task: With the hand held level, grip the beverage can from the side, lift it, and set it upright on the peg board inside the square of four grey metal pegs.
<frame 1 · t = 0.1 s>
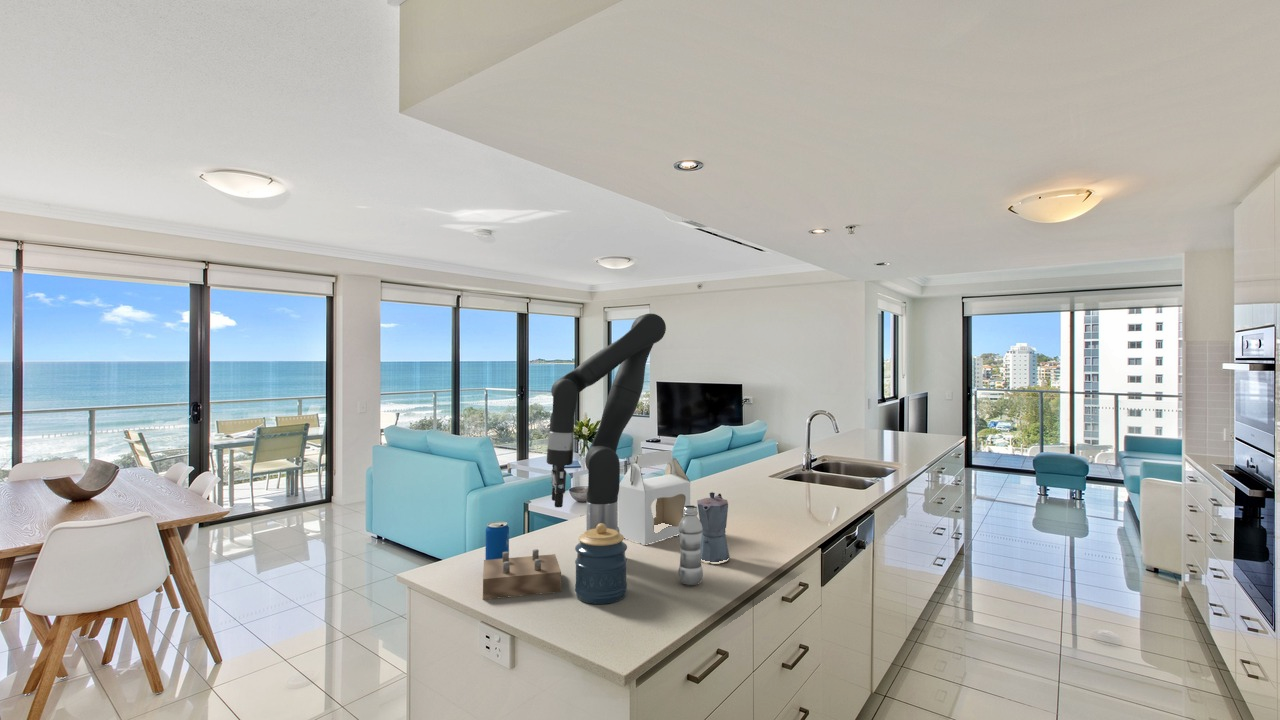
hand: (556, 503, 162), 17 cm above the worktop, tool pointing down, fingers open, 8 cm apart
canister: (601, 595, 140), on the worktop
gable box: (654, 535, 190), on the worktop
moka pot: (713, 559, 165), on the worktop
plastic bottle: (690, 584, 147), on the worktop
peg board: (521, 585, 145), on the worktop
beverage can: (497, 567, 159), on the worktop
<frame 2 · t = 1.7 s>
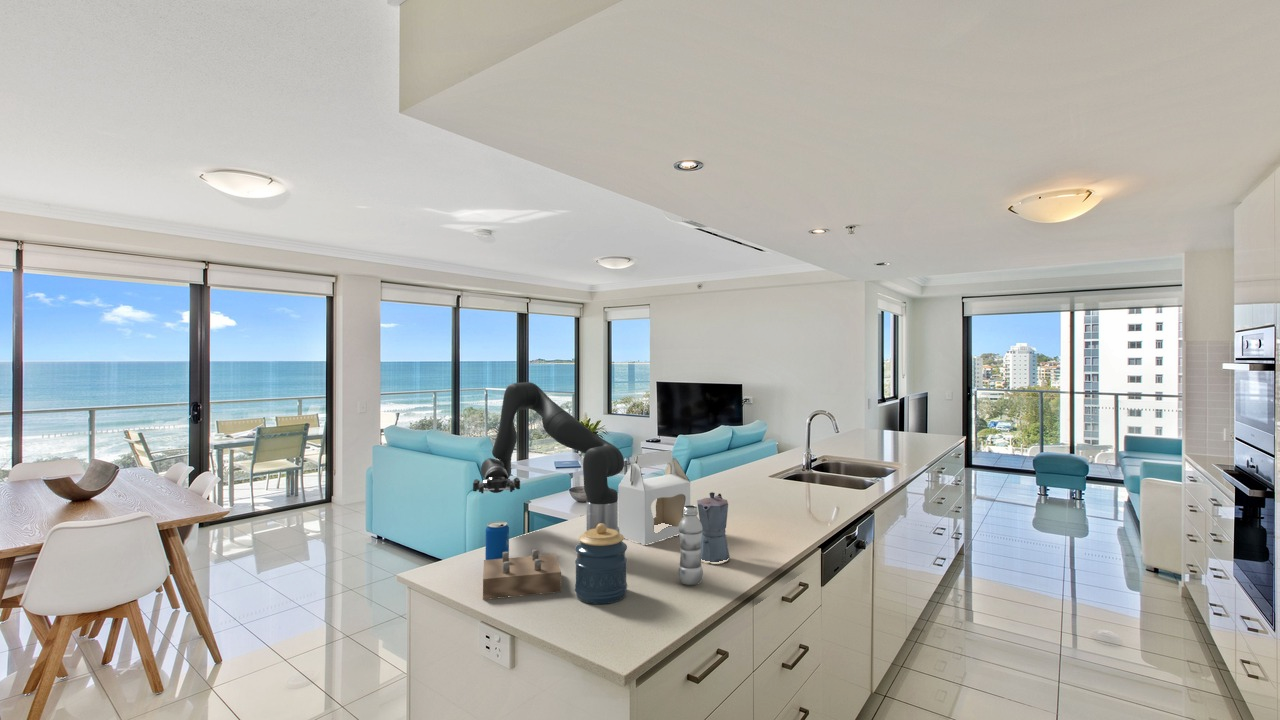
hand: (497, 489, 169), 20 cm above the worktop, tool horizontal, fingers open, 8 cm apart
nothing on the worktop moved.
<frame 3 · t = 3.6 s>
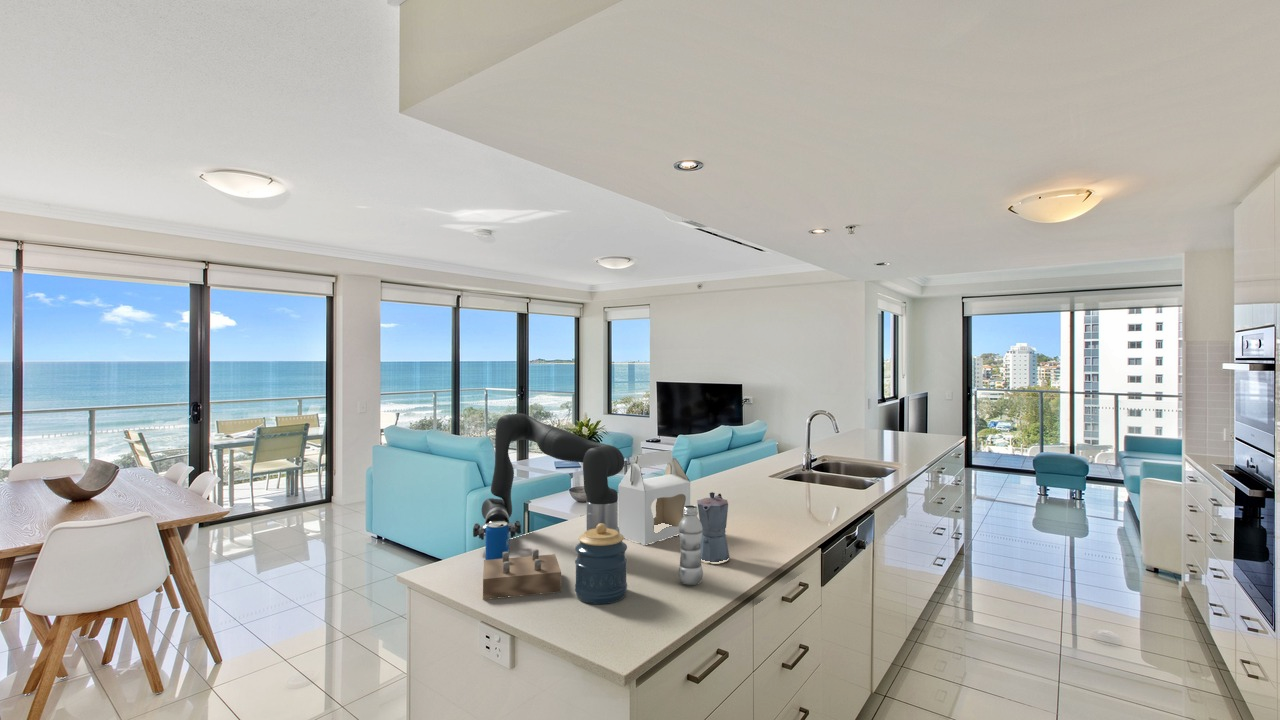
hand: (497, 535, 167), 7 cm above the worktop, tool horizontal, fingers open, 8 cm apart
nothing on the worktop moved.
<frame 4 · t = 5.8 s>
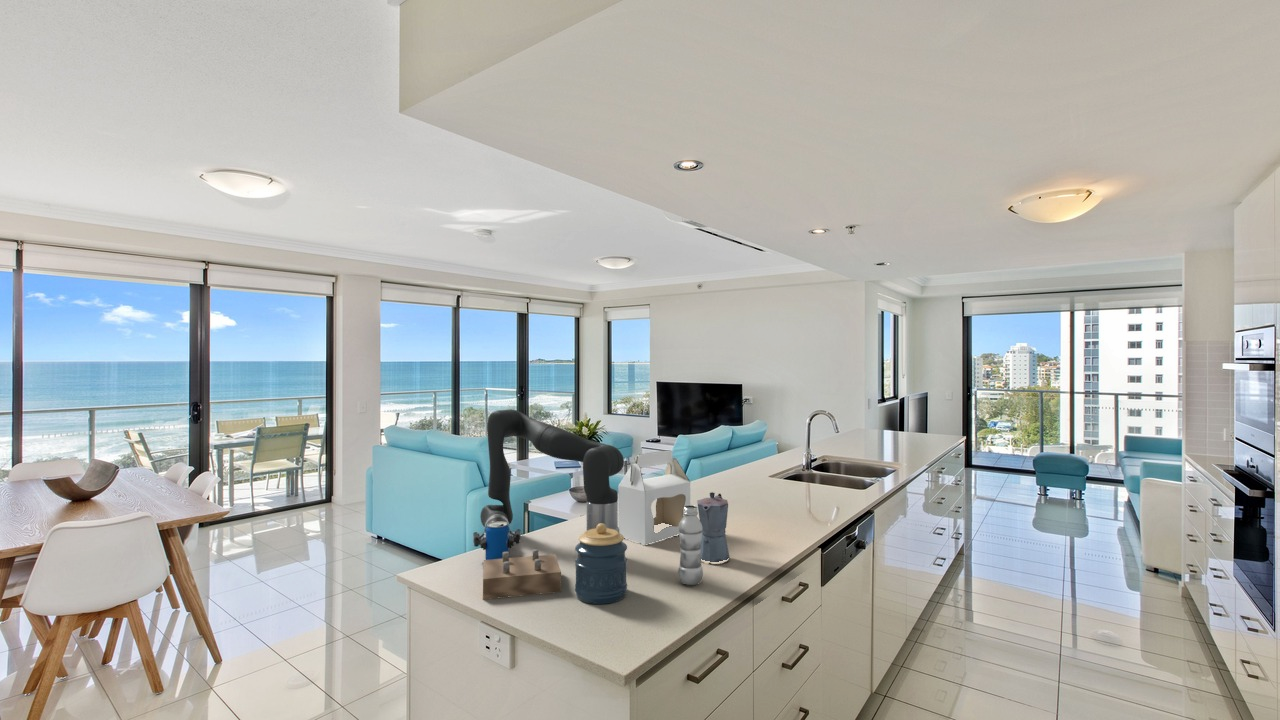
hand: (497, 545, 157), 7 cm above the worktop, tool horizontal, fingers closed on beverage can, 6 cm apart
beverage can: (497, 567, 159), on the worktop, touching gripper
everything else where it was.
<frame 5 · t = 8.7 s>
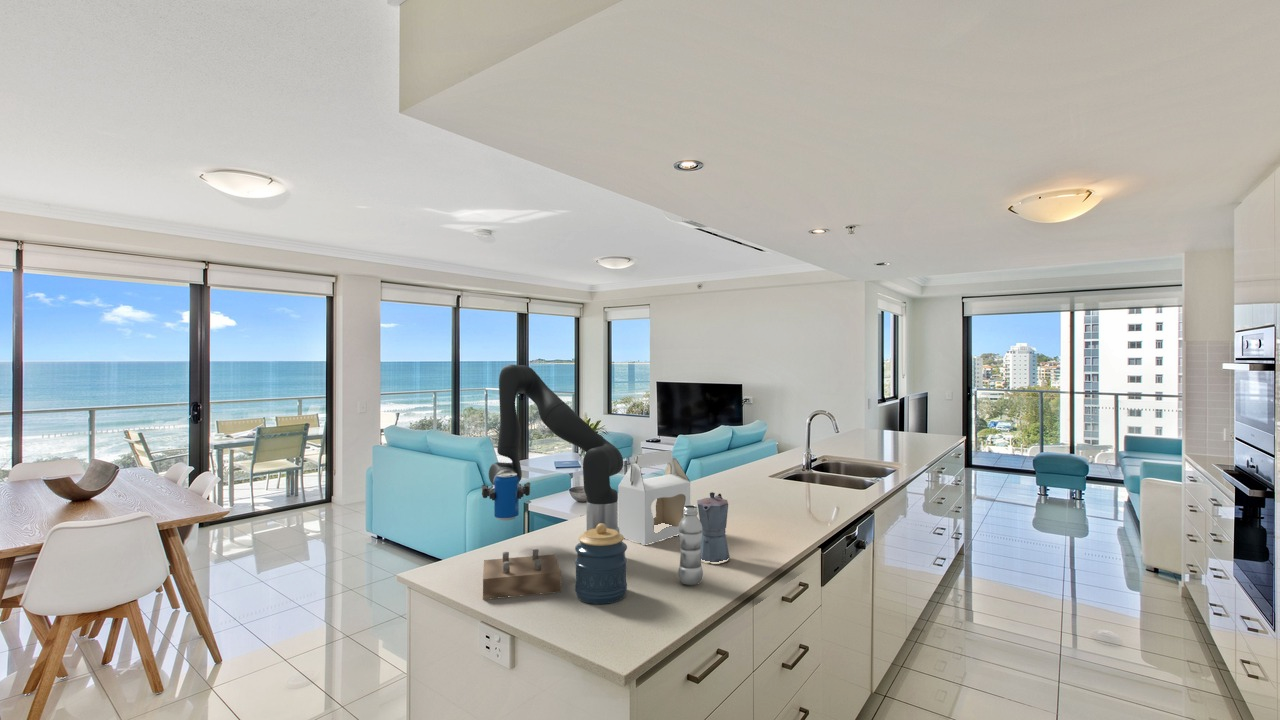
hand: (506, 495, 152), 22 cm above the worktop, tool horizontal, fingers closed on beverage can, 6 cm apart
beverage can: (506, 518, 154), point 15 cm above the worktop, touching gripper
everything else where it was.
when the fingers open (13 cm above the worktop, at t = 12.0 s): beverage can drops 1 cm, resting on peg board.
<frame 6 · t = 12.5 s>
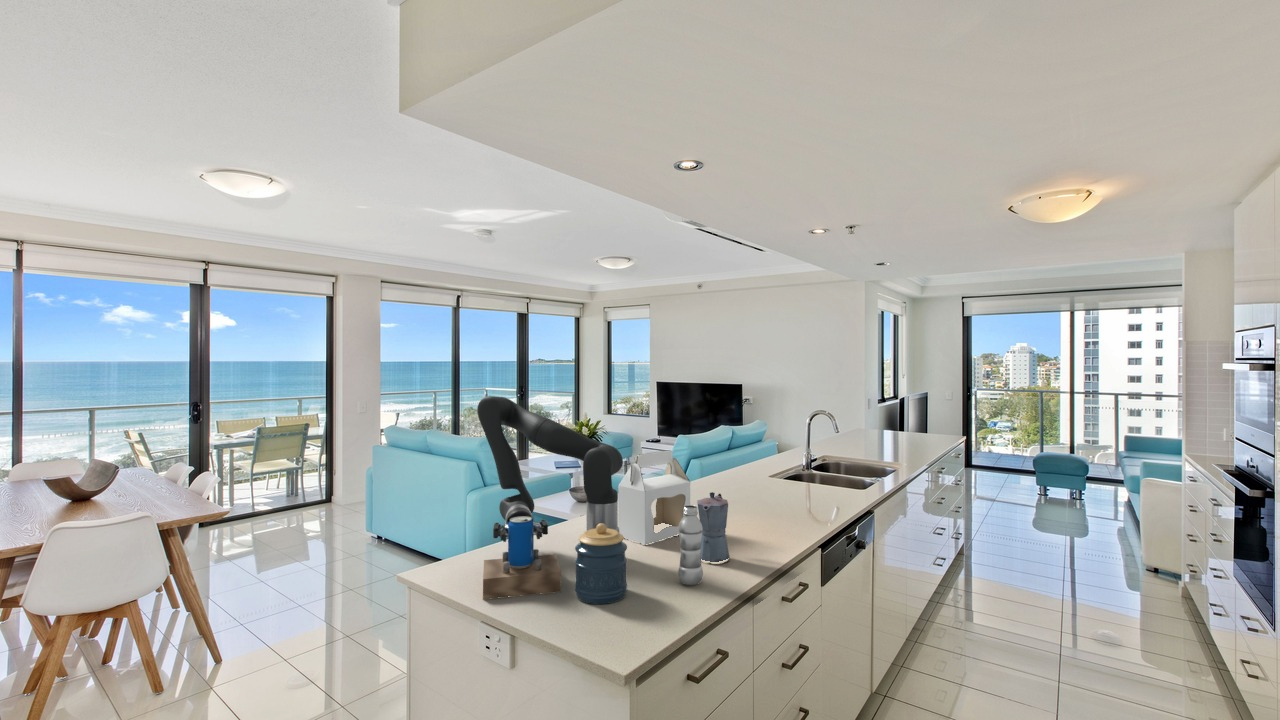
hand: (521, 536, 144), 13 cm above the worktop, tool horizontal, fingers open, 8 cm apart
beverage can: (521, 566, 146), point 5 cm above the worktop, touching peg board
everything else where it was.
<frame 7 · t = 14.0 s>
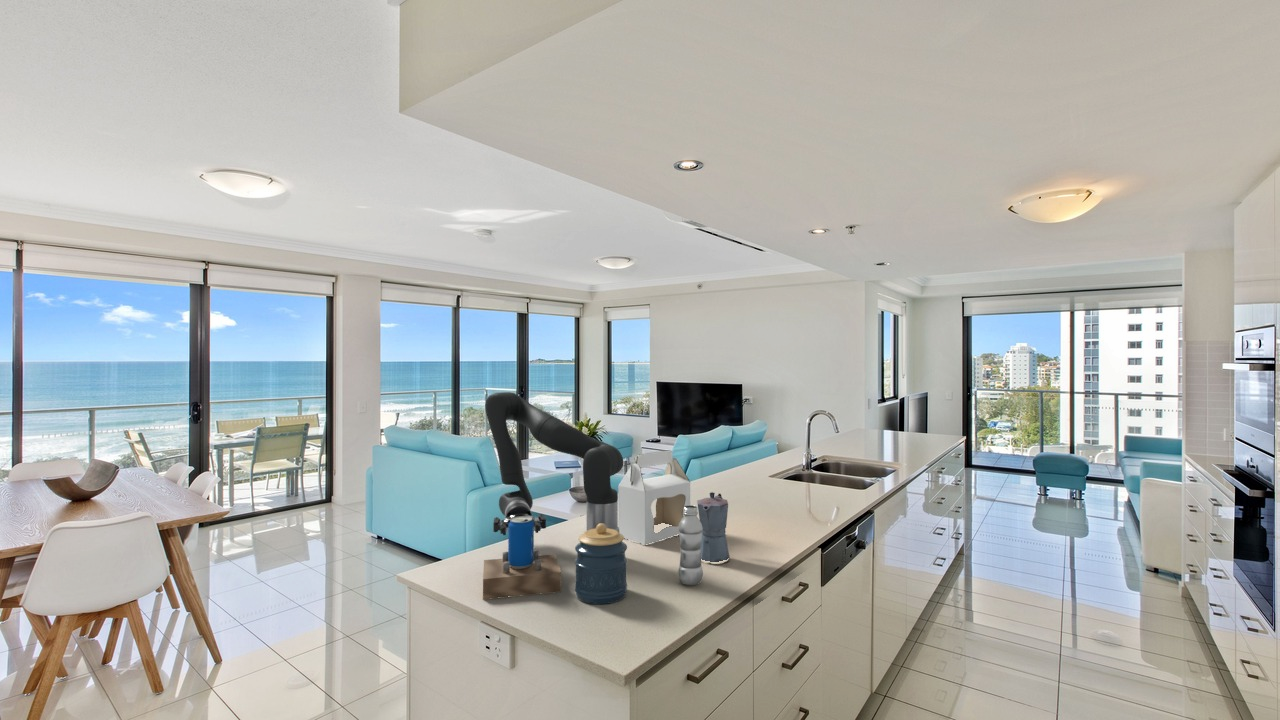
hand: (520, 530, 150), 13 cm above the worktop, tool horizontal, fingers open, 8 cm apart
nothing on the worktop moved.
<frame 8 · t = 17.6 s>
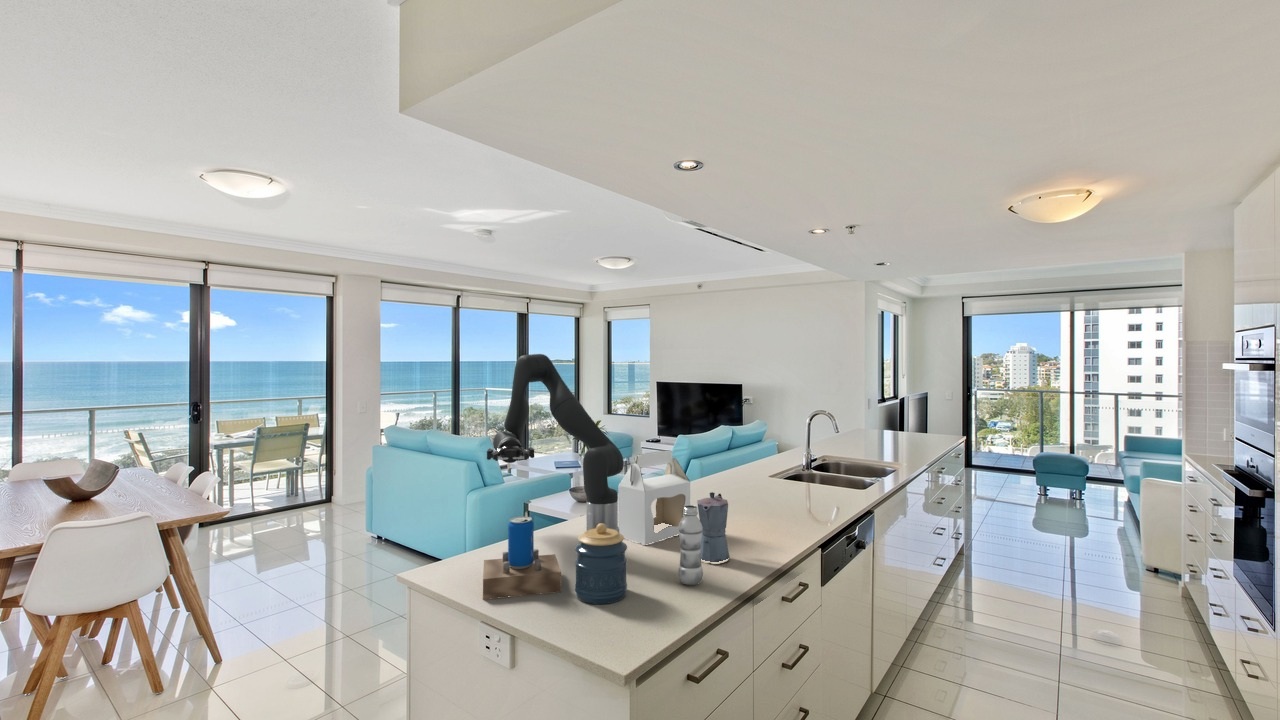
hand: (511, 456, 167), 30 cm above the worktop, tool horizontal, fingers open, 8 cm apart
nothing on the worktop moved.
at the end: beverage can 0.2 cm from the peg board (horizontally); beverage can point 4.8 cm above the worktop; beverage can tilted 0° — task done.
